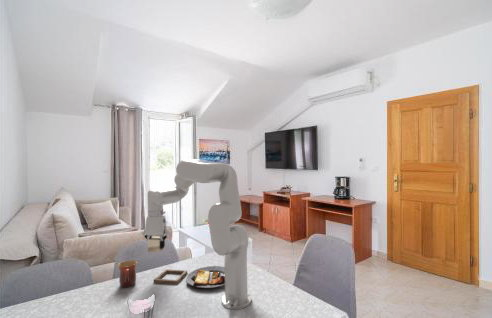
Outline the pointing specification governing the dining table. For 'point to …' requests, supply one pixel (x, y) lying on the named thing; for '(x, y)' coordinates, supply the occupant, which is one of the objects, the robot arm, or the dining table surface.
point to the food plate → (206, 277)
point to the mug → (127, 273)
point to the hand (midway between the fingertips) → (156, 247)
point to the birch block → (154, 244)
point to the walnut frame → (166, 281)
